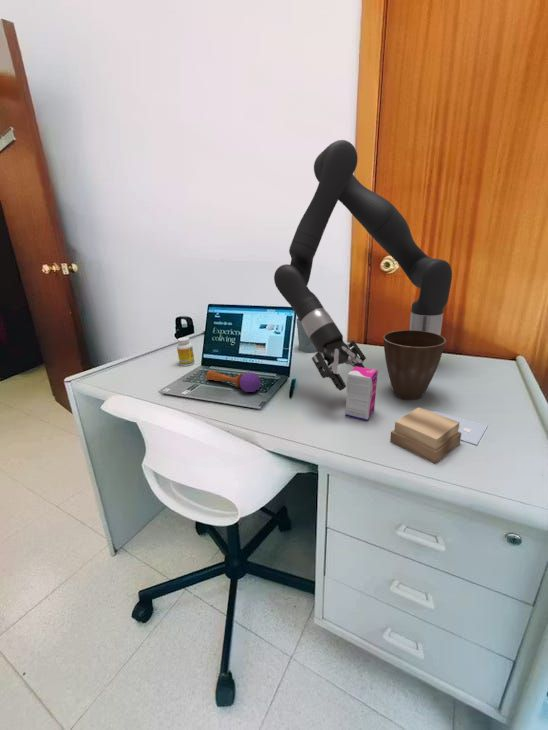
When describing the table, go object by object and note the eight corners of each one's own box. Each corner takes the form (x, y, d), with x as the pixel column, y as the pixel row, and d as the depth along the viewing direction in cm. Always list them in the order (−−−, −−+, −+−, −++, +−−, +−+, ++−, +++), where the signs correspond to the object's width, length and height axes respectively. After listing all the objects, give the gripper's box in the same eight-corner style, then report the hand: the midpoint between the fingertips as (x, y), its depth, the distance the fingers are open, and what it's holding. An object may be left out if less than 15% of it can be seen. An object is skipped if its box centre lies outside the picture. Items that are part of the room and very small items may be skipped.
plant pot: (396, 378, 104) (400, 326, 98) (447, 391, 94) (455, 335, 88) (369, 395, 95) (372, 339, 89) (423, 412, 85) (430, 351, 79)
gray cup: (296, 353, 130) (294, 322, 126) (298, 344, 139) (297, 315, 135) (323, 353, 128) (322, 321, 124) (323, 344, 138) (323, 315, 133)
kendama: (216, 365, 113) (264, 372, 101) (217, 382, 114) (264, 391, 102) (202, 367, 108) (250, 375, 96) (203, 386, 109) (251, 396, 97)
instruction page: (432, 411, 85) (432, 410, 85) (487, 426, 77) (487, 425, 77) (418, 427, 79) (418, 425, 79) (476, 445, 71) (477, 444, 71)
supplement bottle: (180, 362, 128) (175, 337, 125) (194, 360, 129) (191, 335, 126) (179, 367, 123) (175, 341, 120) (194, 365, 124) (191, 339, 121)
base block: (415, 424, 80) (417, 405, 78) (459, 443, 72) (463, 422, 71) (390, 441, 74) (391, 421, 72) (434, 463, 67) (437, 441, 65)
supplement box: (368, 421, 82) (370, 378, 78) (344, 416, 85) (345, 373, 81) (375, 411, 87) (378, 369, 82) (352, 406, 90) (354, 365, 86)
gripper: (308, 327, 82) (344, 385, 78) (348, 316, 90) (382, 368, 85) (294, 343, 88) (326, 399, 83) (332, 332, 96) (364, 382, 91)
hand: (355, 383), depth 84 cm, fingers open, 8 cm apart
